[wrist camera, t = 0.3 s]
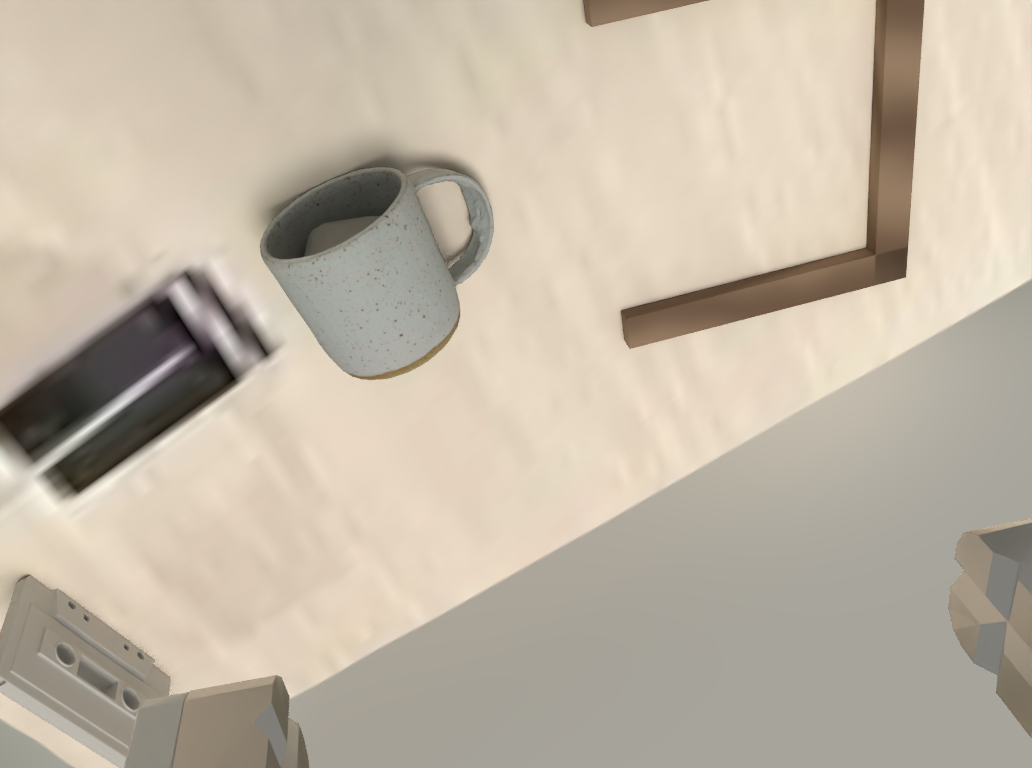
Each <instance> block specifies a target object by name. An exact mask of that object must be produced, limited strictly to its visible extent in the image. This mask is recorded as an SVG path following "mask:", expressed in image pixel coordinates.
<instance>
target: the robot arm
mask: <svg viewBox="0 0 1032 768" xmlns="http://www.w3.org/2000/svg"><path fill="white" fill-rule="evenodd" d="M955 560H956V561H957V562H958V563H959V565H960V566H961V567H962V568H963V569H964V571H963V573H962V574H961V575H960V576H959V577H958V578H957V580H956V581H955V582H954V583H953V584H952V585H951V587H950V597H949V607H948V608H949V613H950V617H951V621H952V626H953V630H954V632H955V634H956V636H957V638H958V640H959V642H960V644H961V646H962V648H963V649H964V650H965V652H966V653H967V654H968V656H969V657H970V659H971V660H972V661H973V663H974V664H976V665H979V666H980V667H983V668H984V669H986V670H988V671H990V672H993V673H994V674H996V675H997V686H996V693H997V694H998V696H999V697H1000V698H1001V699H1002V701H1003V702H1004V703H1005V705H1006V706H1007V707H1008V708H1009V710H1010V711H1011V712H1012V714H1013V715H1014V716H1015V717H1016V719H1017V720H1018V722H1019V723H1020V724H1021V725H1022V727H1023V728H1024V729H1025V731H1026V732H1027V733H1028V734H1029V736H1030V737H1032V518H1030V519H1025V520H1020V521H1016V522H1011V523H1007V524H1002V525H997V526H993V527H988V528H984V529H979V530H974V531H970V532H965V533H963V535H962V536H961V538H960V539H959V541H958V542H957V547H956V553H955ZM288 716H289V695H288V692H287V690H286V687H285V685H284V682H283V680H282V677H280V676H277V675H275V676H269V677H264V678H258V679H253V680H247V681H242V682H236V683H231V684H225V685H220V686H214V687H209V688H203V689H198V690H192V691H190V692H187V693H181V694H175V695H170V696H164V697H159V698H153V699H147V700H145V701H144V703H143V704H142V706H141V707H140V709H139V710H138V712H137V715H136V719H135V723H134V727H133V731H132V736H131V740H130V744H129V748H128V753H127V757H126V761H125V765H124V768H309V760H308V754H307V750H306V745H305V741H304V737H303V734H302V731H301V728H300V725H299V723H297V722H295V721H293V720H292V719H290V718H288Z"/></svg>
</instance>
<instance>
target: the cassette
mask: <svg viewBox="0 0 1032 768" xmlns="http://www.w3.org/2000/svg"><path fill="white" fill-rule="evenodd" d="M154 661H155V660H154V659H153V658H152V657H150V656H149V655H148V654H146V653H145V652H144V651H142V650H141V649H139V648H138V647H137V646H135V645H134V644H133V643H131V642H130V641H129V640H127V639H126V638H124V637H123V636H122V635H120V634H119V633H118V632H116V631H115V630H114V629H112V628H111V627H109V626H108V625H107V624H105V623H104V622H103V621H101V620H100V619H99V618H97V617H96V616H95V615H93V614H92V613H90V612H89V611H88V610H86V609H85V608H84V607H82V606H81V605H80V604H78V603H77V602H75V601H74V600H73V599H71V598H70V597H69V596H67V595H66V594H65V593H63V592H62V591H61V590H59V589H56V590H51V589H49V588H48V587H46V586H45V585H43V584H42V583H41V582H39V581H38V580H37V579H35V578H34V577H32V576H28V577H26V578H25V579H22V580H20V581H19V582H18V583H17V584H16V587H15V590H14V593H13V596H12V599H11V602H10V605H9V608H8V611H7V614H6V617H5V620H4V623H3V626H2V629H1V632H0V693H2V694H3V695H5V696H7V697H8V698H10V699H11V700H13V701H14V702H16V703H18V704H19V705H21V706H22V707H24V708H26V709H27V710H29V711H30V712H32V713H34V714H35V715H37V716H38V717H40V718H41V719H43V720H45V721H46V722H48V723H49V724H51V725H53V726H54V727H56V728H57V729H59V730H61V731H62V732H64V733H65V734H67V735H68V736H70V737H72V738H73V739H75V740H76V741H78V742H80V743H81V744H83V745H84V746H86V747H87V748H89V749H91V750H92V751H94V752H95V753H97V754H99V755H100V756H102V757H103V758H105V759H107V760H108V761H110V762H111V763H113V764H114V765H116V766H118V767H119V768H124V765H125V761H126V757H127V753H128V748H129V744H130V740H131V736H132V731H133V727H134V723H135V719H136V715H137V712H138V710H139V709H140V707H141V706H142V704H143V703H144V701H145V700H147V699H153V698H159V697H164V696H169V689H170V677H169V676H168V675H167V674H165V673H164V672H162V671H161V670H160V669H158V668H157V667H156V666H154V665H153V663H154Z"/></svg>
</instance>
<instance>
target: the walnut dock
mask: <svg viewBox="0 0 1032 768" xmlns="http://www.w3.org/2000/svg"><path fill="white" fill-rule="evenodd" d="M583 1H584V9H585V17H586V23H587V24H589V25H590V26H591V27H594V26H598V25H602V24H607V23H611V22H616V21H620V20H624V19H629V18H633V17H637V16H642V15H646V14H651V13H655V12H659V11H664V10H668V9H673V8H677V7H681V6H686V5H690V4H694V3H699V2H703V1H708V0H583ZM923 14H924V0H877V6H876V30H875V55H874V80H873V104H872V129H871V153H870V178H869V202H868V227H867V248H865V249H861V250H857V251H853V252H850V253H846V254H842V255H838V256H834V257H830V258H826V259H822V260H818V261H814V262H810V263H806V264H803V265H799V266H795V267H791V268H787V269H783V270H779V271H775V272H771V273H767V274H763V275H759V276H756V277H752V278H748V279H744V280H740V281H736V282H732V283H728V284H724V285H720V286H716V287H712V288H709V289H705V290H701V291H697V292H693V293H689V294H685V295H681V296H677V297H673V298H669V299H666V300H662V301H658V302H654V303H650V304H646V305H642V306H638V307H634V308H630V309H626V310H622V311H621V315H622V323H623V331H624V340H625V342H626V343H627V345H628V347H629V348H630V349H631V348H635V347H639V346H643V345H647V344H650V343H654V342H658V341H662V340H666V339H670V338H674V337H677V336H681V335H685V334H689V333H693V332H697V331H701V330H704V329H708V328H712V327H716V326H720V325H724V324H728V323H731V322H735V321H739V320H743V319H747V318H751V317H755V316H759V315H762V314H766V313H770V312H774V311H778V310H782V309H786V308H789V307H793V306H797V305H801V304H805V303H809V302H813V301H816V300H820V299H824V298H828V297H832V296H836V295H840V294H843V293H847V292H851V291H855V290H859V289H863V288H867V287H870V286H874V285H878V284H882V283H886V282H890V281H894V280H897V279H901V278H905V277H906V268H907V253H908V238H909V223H910V208H911V193H912V178H913V163H914V148H915V133H916V118H917V103H918V89H919V74H920V59H921V44H922V29H923Z"/></svg>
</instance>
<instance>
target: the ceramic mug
mask: <svg viewBox="0 0 1032 768" xmlns="http://www.w3.org/2000/svg"><path fill="white" fill-rule="evenodd" d="M443 181H453V182H455V183H457V184H458V185H459V186H460V187H461V189H462V192H463V195H464V198H465V201H466V204H467V206H468V209H469V213H470V225H471V227H472V229H473V235H472V239H471V241H470V243H469V246H468V248H467V250H466V251H465V252H464V254H463V255H462V256H461V257H460V259H459V260H458V261H457V262H456V263H455V264H454V265H453V266H452V267H451V268H449V269H448V268H447V265H446V263H445V261H444V259H443V257H442V255H441V253H440V251H439V249H438V246H437V244H436V241H435V239H434V236H433V234H432V231H431V229H430V226H429V224H428V221H427V219H426V217H425V215H424V212H423V210H422V208H421V205H420V203H419V201H418V198H417V196H416V192H417V191H418V190H419V189H420V188H422V187H424V186H426V185H431V184H434V183H438V182H443ZM493 231H494V224H493V213H492V209H491V206H490V203H489V201H488V198H487V195H486V194H485V192H484V190H483V189H482V187H481V186H480V184H479V183H477V182H476V181H474V180H473V179H472V178H471V177H469V176H467V175H464V174H461V173H458V172H455V171H452V170H447V169H440V168H436V169H428V170H423V171H420V172H417V173H414V174H411V175H409V176H406V175H405V174H404V173H403V172H402V171H400V170H398V169H395V168H389V167H375V168H368V169H361V170H357V171H354V172H351V173H348V174H346V175H343V176H341V177H338V178H334V179H332V180H329V181H327V182H325V183H323V184H321V185H319V186H318V187H316V188H314V189H312V190H310V191H308V192H307V193H306V194H304V195H302V196H300V197H299V198H297V199H296V200H295V201H294V202H293V203H291V204H290V205H288V206H287V207H286V208H285V209H284V210H283V211H282V212H281V213H279V214H278V215H277V216H276V217H275V218H274V219H273V220H272V222H271V223H270V225H269V226H268V228H267V229H266V231H265V232H264V235H263V237H262V239H261V243H260V251H261V256H262V259H263V261H264V263H265V264H266V265H267V267H268V268H269V269H270V271H271V272H272V274H273V275H274V276H275V278H276V279H277V281H278V282H279V284H280V285H281V287H282V289H283V290H284V292H285V293H286V295H287V296H288V298H289V299H290V301H291V302H292V304H293V305H294V307H295V308H296V309H297V311H298V312H299V314H300V315H301V316H302V318H303V319H304V321H305V322H306V323H307V325H308V326H309V328H310V329H311V331H312V333H313V334H314V336H315V337H316V339H317V341H318V342H319V344H320V345H321V347H322V348H323V349H324V351H325V352H326V353H327V354H328V356H329V357H330V358H331V359H332V360H333V361H334V362H335V363H336V364H337V365H338V366H339V367H340V368H341V369H342V370H343V371H345V372H346V373H348V374H349V375H351V376H353V377H356V378H359V379H366V380H376V379H388V378H392V377H395V376H398V375H401V374H404V373H407V372H409V371H411V370H413V369H415V368H417V367H419V366H421V365H423V364H424V363H426V362H427V361H428V360H430V359H431V358H432V357H433V356H435V355H436V354H437V353H438V352H439V351H440V350H441V349H442V348H444V346H445V345H446V344H447V343H448V341H449V340H450V338H451V337H452V335H453V334H454V332H455V330H456V329H457V326H458V322H459V318H460V304H459V299H458V295H457V291H456V288H455V286H456V285H458V284H460V283H462V282H463V281H464V280H466V279H467V278H469V277H470V276H471V275H472V274H473V273H474V272H475V271H476V270H477V269H478V267H479V266H480V265H481V263H482V262H483V260H484V259H485V258H486V256H487V254H488V251H489V248H490V245H491V242H492V237H493Z"/></svg>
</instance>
